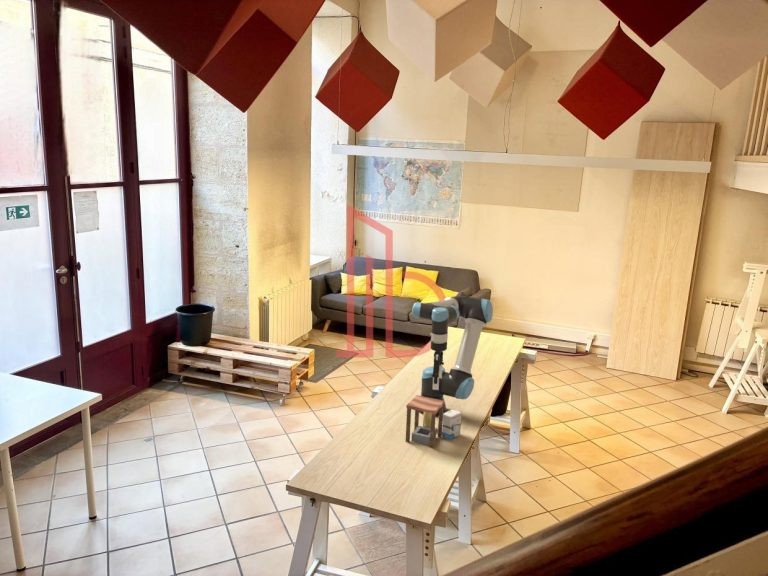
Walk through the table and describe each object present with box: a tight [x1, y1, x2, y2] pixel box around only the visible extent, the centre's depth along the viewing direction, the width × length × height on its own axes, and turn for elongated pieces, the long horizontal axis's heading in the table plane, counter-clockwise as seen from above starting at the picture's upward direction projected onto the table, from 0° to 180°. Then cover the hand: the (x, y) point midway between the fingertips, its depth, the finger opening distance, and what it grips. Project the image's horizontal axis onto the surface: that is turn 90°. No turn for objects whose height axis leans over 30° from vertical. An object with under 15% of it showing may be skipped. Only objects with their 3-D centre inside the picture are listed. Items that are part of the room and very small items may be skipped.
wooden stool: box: [405, 395, 445, 449], centre depth 281 cm, size 13×14×18 cm
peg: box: [422, 412, 432, 428], centre depth 294 cm, size 4×4×14 cm
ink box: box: [441, 409, 462, 440], centre depth 286 cm, size 9×5×12 cm, turn 134°
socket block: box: [410, 425, 437, 446], centre depth 283 cm, size 9×9×4 cm
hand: (437, 383), depth 282 cm, fingers open, 13 cm apart
